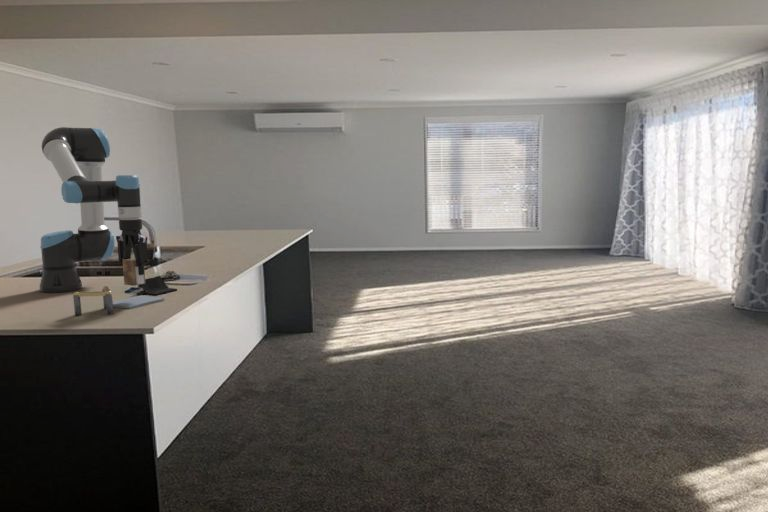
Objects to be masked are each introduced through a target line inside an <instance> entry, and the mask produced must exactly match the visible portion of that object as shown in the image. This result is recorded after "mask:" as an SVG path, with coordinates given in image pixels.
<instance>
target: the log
mask: <svg viewBox="0 0 768 512" xmlns="http://www.w3.org/2000/svg"><path fill="white" fill-rule="evenodd" d="M158 276H161V278H162V279H163V281H164V283H166V282H167V283H168V282H173V281H175V282H176V281H179V280H181V276H180V274H178V273H177V272H175V271H174V270H167V271H166V272H165V274H161V275H156V276H155V277H158Z"/></svg>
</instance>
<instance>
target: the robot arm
mask: <svg viewBox="0 0 768 512" xmlns="http://www.w3.org/2000/svg"><path fill="white" fill-rule="evenodd" d="M42 139H43V140H42V142H41V150H42V153H43V156H44V157H45V158H46V159H47V161H49V162H51V164H52V166H53V167H54V169H55V171H56V173H57V174H58V176H59V178H60V179H61V181H62V183H61V188H60V189H61V196H62V200H63V201H64V202H65V203H66V204H79V206H80V219H81V224H80V226H78V228H77V232H76V233H74V232H73V230H71V229H70V230H60V231H54V232H50V233H45V234H43V235H42V236H41V237H40V251H41V261H42V270H43V271H42V275H41V279H40V283H39V292H40V293H50V294H51V293H53V294H54V293H66V292H72V291H76V290H79V289H82V288H83V282H82V280H81V278H80V276H79V273H78V271H77V268H76V267H77V266H76V263H79V262H88V261H102V260H107V259H109V258H111V257H112V255H113V254H114V251H115V243H116V242H117V254H118V257H117V258H118V263H119V264H121V265H123V260H125V259H131V258H132V251H133V254H134V258H135V259H136V263H137V265H135V270H136V284H137V285H136V286H139V285H138V284H143V283H144V269H145V265H148V264H149V255H148V236H144V235H142V233H141V230H142V229H143V220H142V219H141V218H142V217H143V216H142V206H141V205H142V204H141V190H140V187H141V184H140V180H139V179H140V178H139V176H138V175H135V174H131V175H130V174H129V175H128V174H127V175H126V174H124V175H123V174H122V175H121V174H118V175H116V176H115V180H103V173H102V167H103V166H104V164H105V163H106V159H107V158H108V157H110V155H111V153H110V152H111V147H110V142H109V139H108V137H107V134H106V132H105V131H103V130H102V129H101V128H92V127H90V128H89V127H66V126H62V127H58V128H54V129H52V130H50V131H49V132H47V133H46V135H45V136H44V137H43V138H42ZM111 202H113V203H114V202H116V203H117V211H118V213H117V214H118V215H117V216H118V218H119V220H118V226H119V227H118V230H120V231H121V234H120V235H116V236H115V235H114V233H113V232H112V231H111V230H110V229H109V227H108V225H106V223H105V209H104V203H111ZM115 238H116V242H115Z"/></svg>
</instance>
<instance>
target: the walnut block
mask: <svg viewBox="0 0 768 512" xmlns="http://www.w3.org/2000/svg"><path fill="white" fill-rule="evenodd" d="M135 265H137V263H136V259H135V257H133V258H132V257H131V259H125V260H123V264H122V270H123V282H124V283H123V285H125V286H132V287H134V286H139V285H140V284H138V285H137V284H136V270H135ZM145 269H146V268H144V283H143V284H145V279H146V273H145V271H146V270H145ZM140 286H141V285H140Z"/></svg>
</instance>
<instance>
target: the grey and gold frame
mask: <svg viewBox="0 0 768 512" xmlns="http://www.w3.org/2000/svg"><path fill="white" fill-rule="evenodd" d="M72 297H73V309H74V316H75V317H79V316H82V303H81V301H82V300H81V297H102V301H103V303H102V304H103V310H106V315H107V316H108V315H113V314H114V306H113V302H114V301H113V293H112V291H111V290H110V288H109V287H108V285H105V286H103V287H102V291H85V292H83V291H75V292H74V293H73V295H72Z"/></svg>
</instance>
